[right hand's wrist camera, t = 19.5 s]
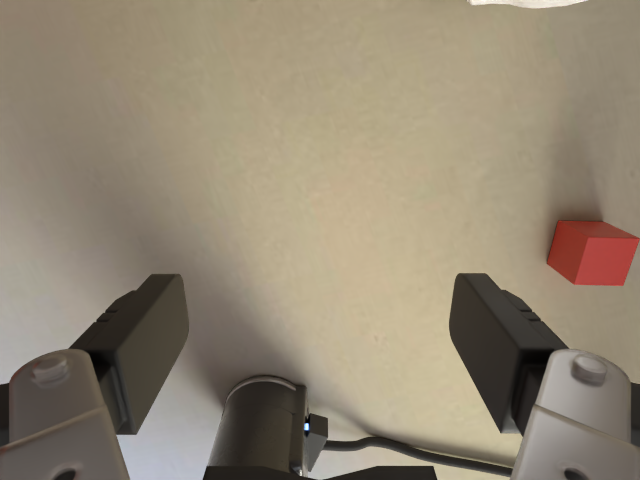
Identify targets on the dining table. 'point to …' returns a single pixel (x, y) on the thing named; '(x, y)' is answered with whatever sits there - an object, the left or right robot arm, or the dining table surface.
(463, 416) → the dining table surface
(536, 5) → the skull
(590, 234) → the brick
